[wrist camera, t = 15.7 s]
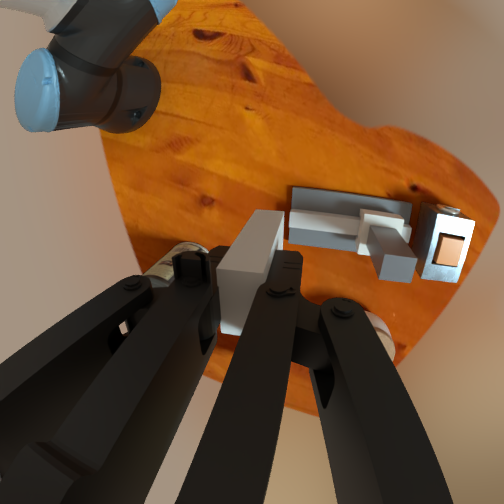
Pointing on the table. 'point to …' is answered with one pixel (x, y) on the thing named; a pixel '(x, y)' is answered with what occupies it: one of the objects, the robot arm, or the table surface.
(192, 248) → the coffee can
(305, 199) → the rail bed
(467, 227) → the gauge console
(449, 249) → the button
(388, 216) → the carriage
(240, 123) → the table surface
